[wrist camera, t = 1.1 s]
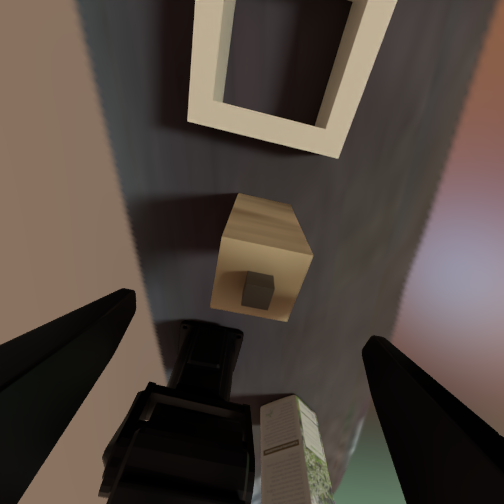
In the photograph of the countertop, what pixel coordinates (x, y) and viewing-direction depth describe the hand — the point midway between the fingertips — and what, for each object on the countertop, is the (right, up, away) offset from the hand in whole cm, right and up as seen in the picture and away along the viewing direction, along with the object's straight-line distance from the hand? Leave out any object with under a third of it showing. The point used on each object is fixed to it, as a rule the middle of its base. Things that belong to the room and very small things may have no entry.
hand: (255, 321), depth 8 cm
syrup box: (+5, -19, +22) cm, 29 cm away
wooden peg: (0, +5, +9) cm, 10 cm away
